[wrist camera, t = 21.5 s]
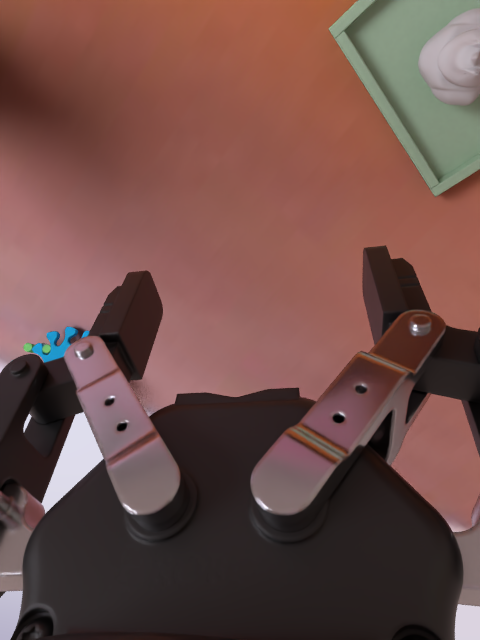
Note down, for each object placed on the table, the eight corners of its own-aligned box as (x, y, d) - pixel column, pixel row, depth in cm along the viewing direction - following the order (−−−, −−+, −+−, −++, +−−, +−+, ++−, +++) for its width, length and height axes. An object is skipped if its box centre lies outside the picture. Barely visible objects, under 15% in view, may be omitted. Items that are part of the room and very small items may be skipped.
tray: (329, 30, 31) (328, 28, 29) (497, -132, 25) (505, -143, 23) (432, 192, 35) (435, 197, 33) (597, 86, 29) (609, 87, 27)
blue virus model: (122, 352, 50) (74, 424, 48) (134, 357, 56) (91, 422, 54) (48, 306, 51) (-1, 376, 50) (67, 316, 57) (23, 379, 55)
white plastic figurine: (426, 10, 29) (448, -6, 22) (530, 15, 27) (586, -2, 21) (405, 99, 31) (419, 108, 25) (498, 106, 30) (539, 117, 24)
